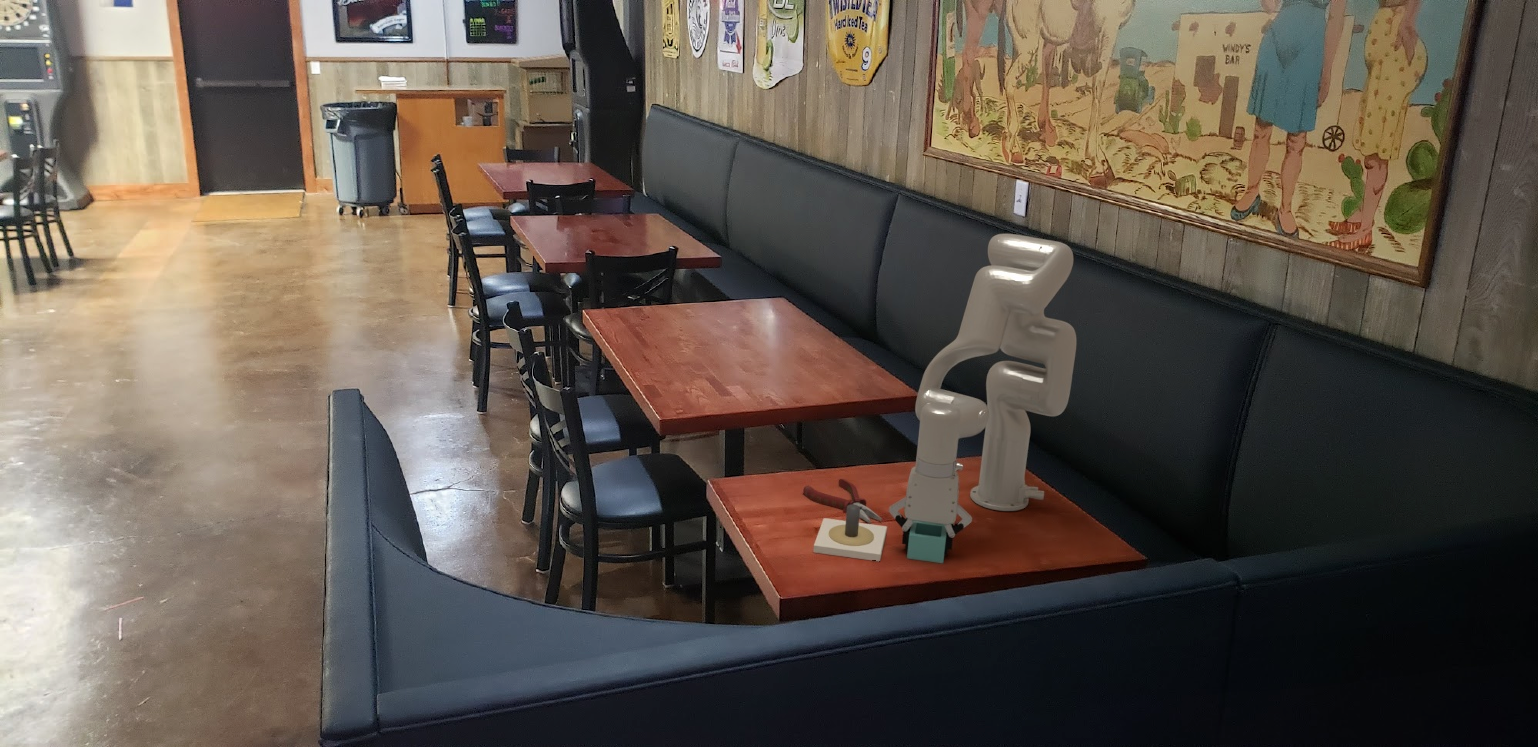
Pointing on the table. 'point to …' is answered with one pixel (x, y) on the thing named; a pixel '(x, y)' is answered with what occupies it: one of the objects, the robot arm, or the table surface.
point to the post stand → (850, 537)
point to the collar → (927, 542)
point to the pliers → (842, 500)
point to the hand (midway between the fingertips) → (926, 549)
